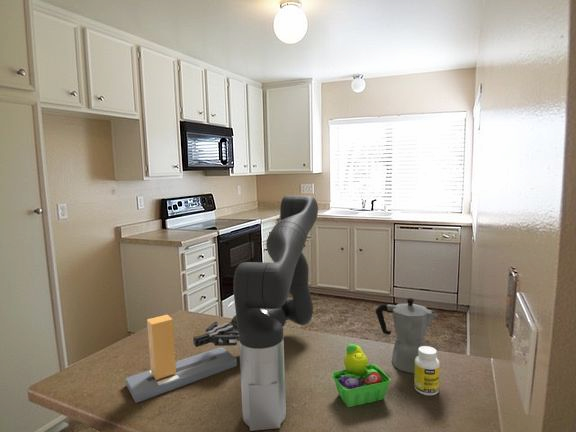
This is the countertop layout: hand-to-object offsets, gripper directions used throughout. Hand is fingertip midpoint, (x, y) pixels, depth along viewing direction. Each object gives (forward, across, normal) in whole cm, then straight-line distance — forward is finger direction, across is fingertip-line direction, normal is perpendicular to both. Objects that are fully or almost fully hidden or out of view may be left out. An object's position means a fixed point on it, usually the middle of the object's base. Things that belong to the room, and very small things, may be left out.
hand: (194, 342), depth 98 cm
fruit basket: (-25, +34, +8) cm, 43 cm away
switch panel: (+3, 0, +8) cm, 9 cm away
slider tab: (+8, 0, +6) cm, 10 cm away
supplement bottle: (-39, +42, +8) cm, 58 cm away
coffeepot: (-45, +32, +8) cm, 56 cm away
